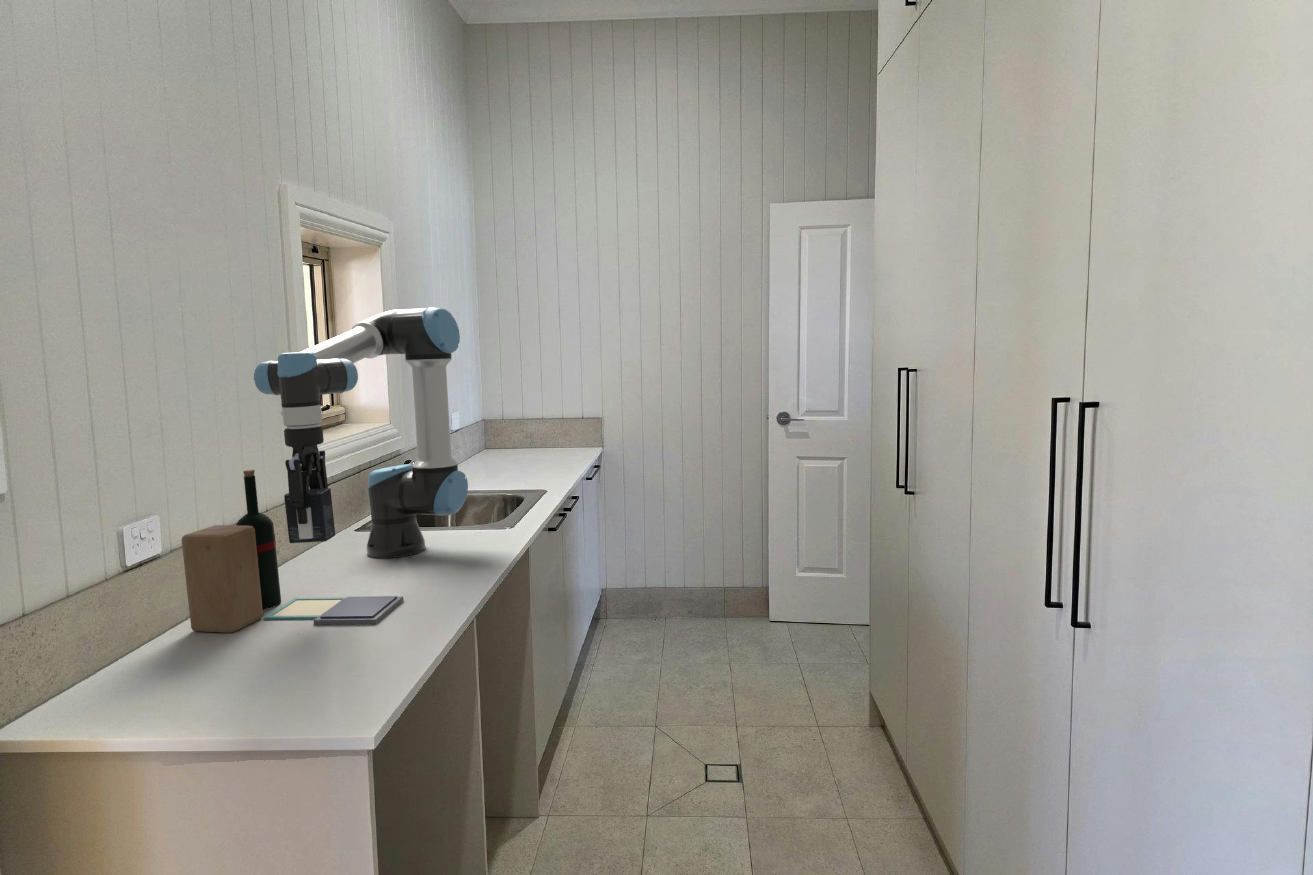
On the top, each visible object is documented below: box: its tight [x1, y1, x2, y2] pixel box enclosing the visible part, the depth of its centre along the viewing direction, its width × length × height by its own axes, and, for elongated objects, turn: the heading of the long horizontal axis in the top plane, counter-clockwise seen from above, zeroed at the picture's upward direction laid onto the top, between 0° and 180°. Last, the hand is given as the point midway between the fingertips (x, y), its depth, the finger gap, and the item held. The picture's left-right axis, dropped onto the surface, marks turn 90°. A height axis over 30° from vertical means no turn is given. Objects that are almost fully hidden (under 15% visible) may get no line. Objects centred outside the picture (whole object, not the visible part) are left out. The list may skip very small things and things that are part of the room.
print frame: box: [263, 596, 345, 621], centre depth 183 cm, size 13×14×1 cm
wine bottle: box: [235, 469, 282, 611], centre depth 187 cm, size 8×10×30 cm
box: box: [283, 487, 336, 544], centre depth 181 cm, size 8×6×11 cm
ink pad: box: [313, 595, 404, 626], centre depth 180 cm, size 15×13×1 cm
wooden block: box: [181, 524, 264, 634], centre depth 174 cm, size 10×10×20 cm
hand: (313, 534), depth 181 cm, fingers closed on box, 6 cm apart
